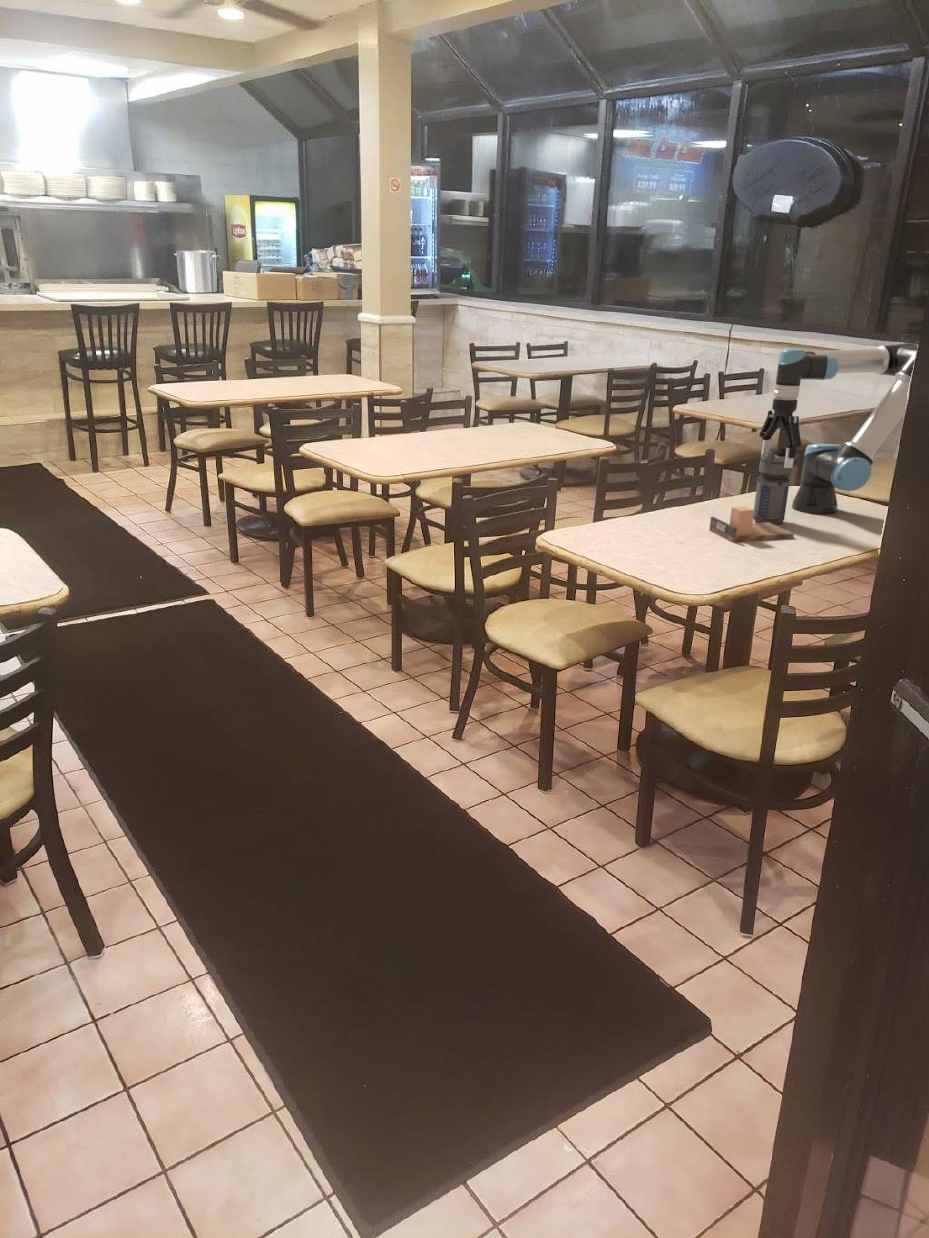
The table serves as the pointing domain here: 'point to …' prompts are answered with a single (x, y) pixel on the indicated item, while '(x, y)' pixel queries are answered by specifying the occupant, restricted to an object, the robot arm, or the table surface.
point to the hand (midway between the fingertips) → (776, 463)
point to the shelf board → (758, 532)
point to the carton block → (742, 520)
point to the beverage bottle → (772, 488)
